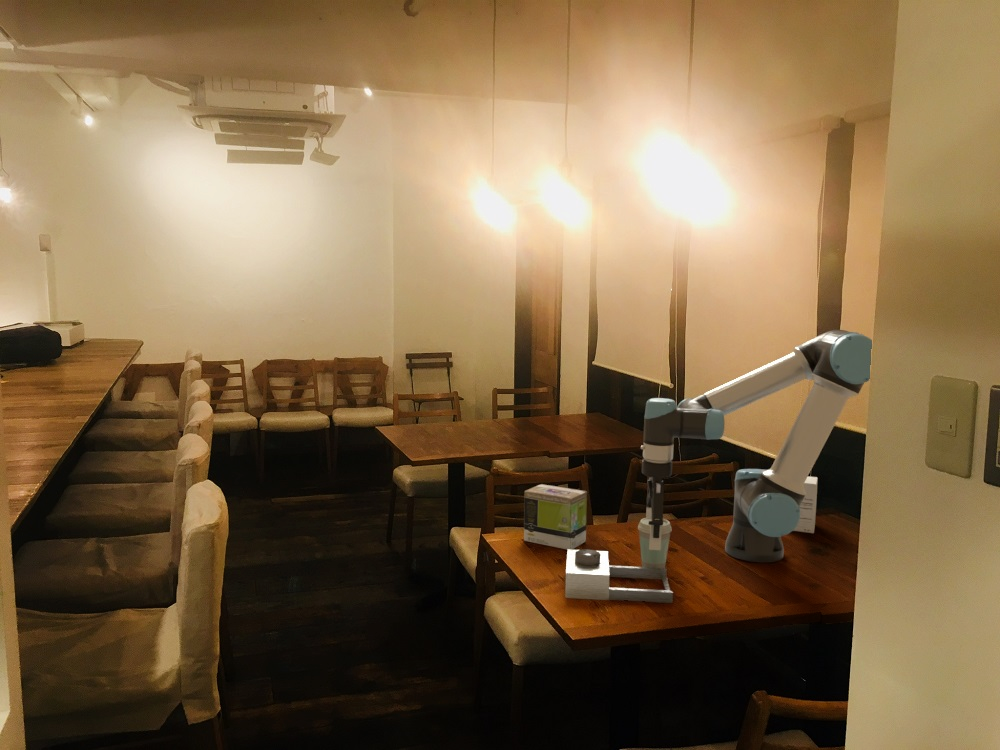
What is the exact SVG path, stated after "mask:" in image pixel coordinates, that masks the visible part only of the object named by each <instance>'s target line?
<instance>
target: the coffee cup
mask: <svg viewBox="0 0 1000 750" xmlns="http://www.w3.org/2000/svg"><path fill="white" fill-rule="evenodd" d="M655 520H659V519H655ZM649 521H652V517H649V518H646V517H644V518H641V519H640V521H639V523H638V526H637V529H638V532H639V534H638V535H639V544H640V545H639V546H640V547H639V548H640V557H641V558H640V559H641V560H640V561H641V567H653V568H666V561H667V556H668V550H669V544H670V537H671V533H672V531H673V530H672V526H671V522H670V521H669V520H668V519H666V518H663V525H662V533H661V550H649V543H650V526H651V525H649Z"/></svg>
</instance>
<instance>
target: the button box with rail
mask: <svg viewBox="0 0 1000 750" xmlns="http://www.w3.org/2000/svg"><path fill="white" fill-rule="evenodd" d="M566 553H567V554H566V567H565V568H566V569H565V589H564V590H565V593H564V594H565V596H564V597H565V599H579V600H580V599H581V600H597V601H600V600H601V601H610V600H611V601H624V600H628V601H629V602H642V601H645V603H646V602H647V603H661V604H663V603H665V604H673V601H674V600H673V597H674V592H673V590H671V587H670V584H669V581H668V577H667V575H668V574H667V572H668V571H667V570H668V569H667V567H665V568H653V567H642V566H628V565H611V564H609V562H610V561H609V551H608V550H594V549H588V548H587V549H585V548H584V549H572V550H570V549H568V550H567V552H566ZM610 578H624V579H626V578H629V579H645V580H647V579H648V580H662V584H663V588H664V589H648V588H646V589H645V588H630V587H628V588H627V587H610ZM628 601H627V602H628Z"/></svg>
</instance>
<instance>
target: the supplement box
mask: <svg viewBox="0 0 1000 750" xmlns="http://www.w3.org/2000/svg"><path fill="white" fill-rule="evenodd" d="M804 489H805V492H806V495H805V497H804V499H803V501H802V503H801V505H800V506H799V509H800V520H799V523H798V525H797V526H796V528H795V529H794V530H793V531H792V532H798V533H799V532H801V533H810V534H814V533H815V527H816V526H815V525H816V516H817V515H816V513H817V498H818V496H817V495H818V477H817V476H809V475H808V477H807V479H806V481H805V482H804Z"/></svg>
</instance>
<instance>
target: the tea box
mask: <svg viewBox="0 0 1000 750" xmlns="http://www.w3.org/2000/svg"><path fill="white" fill-rule="evenodd" d="M523 496H524V497H523V498H524V504H523V509H524V510H523V515H524V516H523V540H524V541H525V542H530V543H534V544H539V545H543V546H548V547H553V548H558V549H562V550H568V549H570V550H575V548H577V547H579V546H581V545H582V544H583V543H586V540H587V502H588V497H587V496H588V491H586V490H582V489H581V490H580V489H576V488H570V487H562V486H555V485H549V484H548V485H547V484H543V483H541V484H538V485H536V486H533V487H531V488H529V489H526V490H524V495H523Z"/></svg>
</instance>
